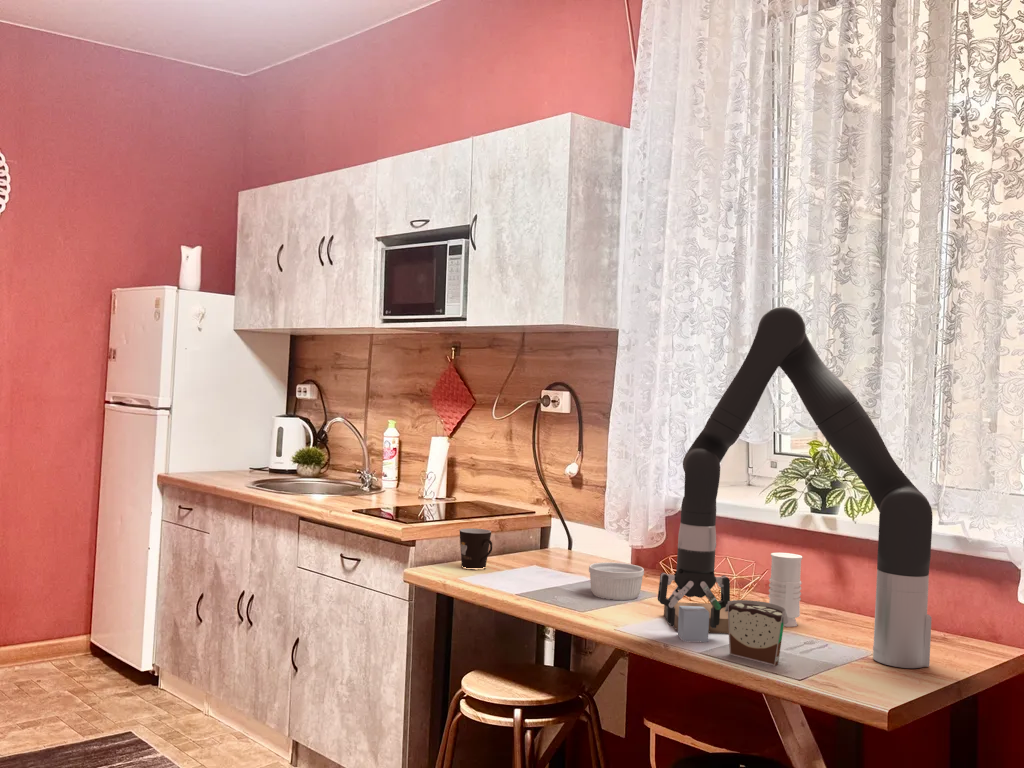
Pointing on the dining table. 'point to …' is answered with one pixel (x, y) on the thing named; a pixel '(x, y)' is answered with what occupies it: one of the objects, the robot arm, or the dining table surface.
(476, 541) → the coffee mug
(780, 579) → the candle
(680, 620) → the gray block
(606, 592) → the ramekin
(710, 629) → the walnut plinth
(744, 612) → the food container
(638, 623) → the dining table surface
